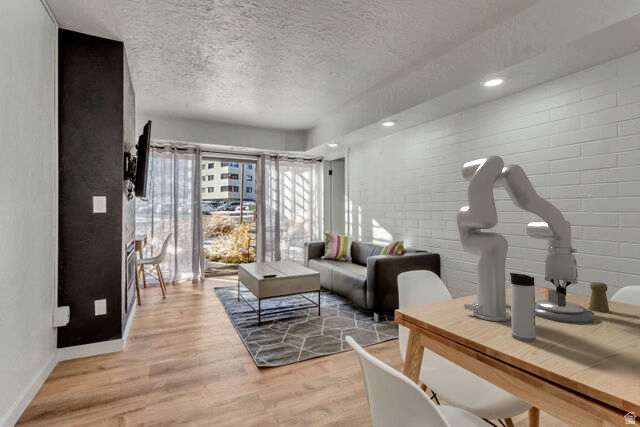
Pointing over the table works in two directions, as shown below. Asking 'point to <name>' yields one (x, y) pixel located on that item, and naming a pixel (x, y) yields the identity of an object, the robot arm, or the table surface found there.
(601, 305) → the cork
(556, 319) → the dial base
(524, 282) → the travel mug
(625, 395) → the table surface
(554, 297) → the dial
